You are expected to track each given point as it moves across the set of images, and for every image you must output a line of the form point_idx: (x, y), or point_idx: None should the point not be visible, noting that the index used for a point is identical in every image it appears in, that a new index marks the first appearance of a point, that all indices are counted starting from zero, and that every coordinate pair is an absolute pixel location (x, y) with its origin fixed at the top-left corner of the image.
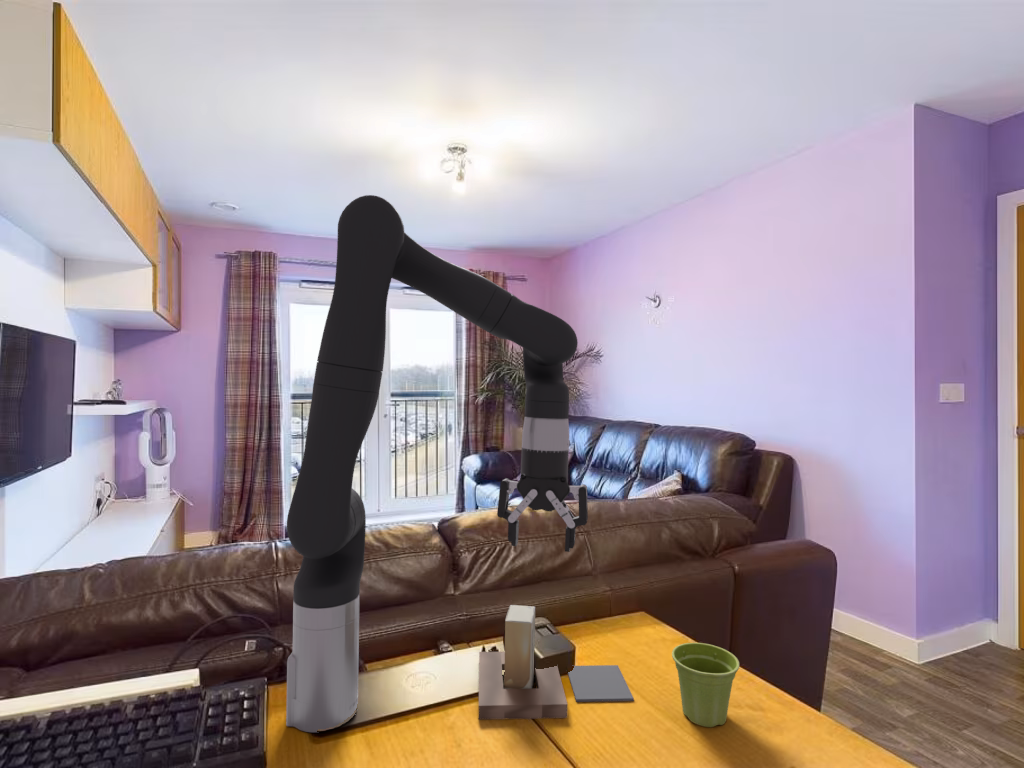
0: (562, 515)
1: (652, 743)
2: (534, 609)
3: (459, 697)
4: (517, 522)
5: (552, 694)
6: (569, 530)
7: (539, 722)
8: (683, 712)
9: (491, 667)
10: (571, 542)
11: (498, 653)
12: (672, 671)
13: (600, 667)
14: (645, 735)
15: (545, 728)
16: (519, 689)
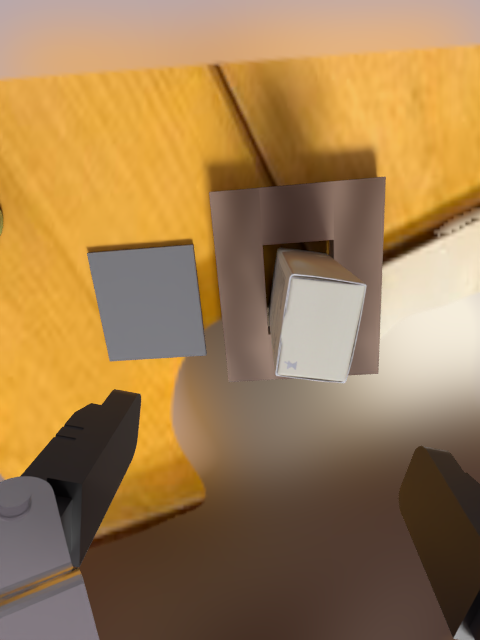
0: (52, 580)
1: (64, 122)
2: (277, 359)
3: (411, 248)
4: (475, 595)
5: (236, 225)
6: (58, 469)
7: (263, 175)
8: (1, 214)
9: None
10: (84, 424)
11: None
12: (13, 351)
13: (142, 352)
14: (75, 146)
15: (253, 157)
16: (301, 239)
